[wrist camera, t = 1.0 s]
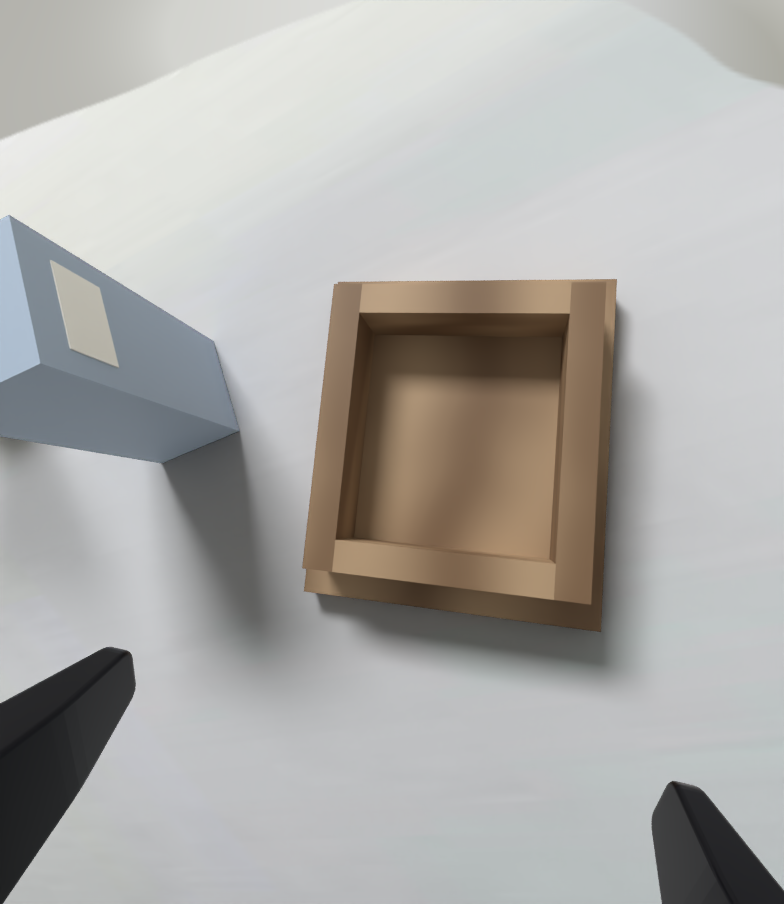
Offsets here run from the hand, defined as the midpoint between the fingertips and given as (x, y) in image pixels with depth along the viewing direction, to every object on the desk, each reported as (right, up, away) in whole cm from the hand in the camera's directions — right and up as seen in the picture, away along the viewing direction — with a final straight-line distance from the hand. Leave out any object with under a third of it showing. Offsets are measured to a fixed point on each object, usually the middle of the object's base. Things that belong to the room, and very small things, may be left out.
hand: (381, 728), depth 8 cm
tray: (+3, +5, +14) cm, 15 cm away
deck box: (-10, +7, +17) cm, 21 cm away
